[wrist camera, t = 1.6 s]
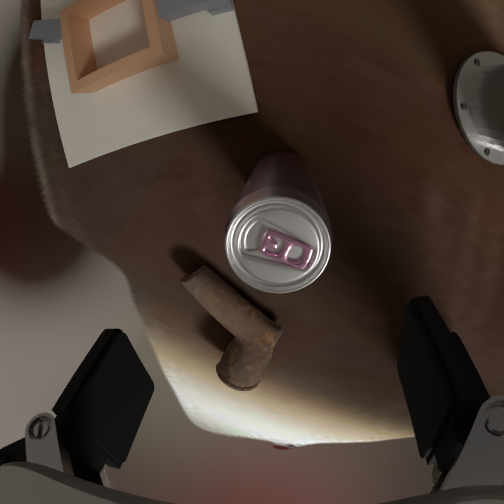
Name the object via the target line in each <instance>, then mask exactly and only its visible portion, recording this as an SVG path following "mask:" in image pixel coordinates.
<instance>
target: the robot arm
mask: <svg viewBox="0 0 504 504" xmlns="http://www.w3.org/2000/svg"><path fill="white" fill-rule="evenodd" d="M460 104H461V106H460ZM453 105H454V111H455V116H456V120H457V123H458V125H459V128H460V131H461V133H462V135H463V136H464V138H465V140H466V142H467V143H468V144H469V146H470V147H471V148H472V149H473V150H474V151H475V152H476V153H477V154H478V155H479V156H481V157H482V158H484V159H485V160H487V161H490V162H492V163H495V164H499V165H504V56H503V55H501V54H499V53H496V52H491V51H483V52H477V53H475V54H472V55H470V56H469V57H468V58H466V59H465V60H464V61H463V63H462V64H461V65H460V67H459V69H458V71H457V74H456V76H455V81H454V85H453ZM397 369H398V375H399V378H400V381H401V385H402V388H403V392H404V395H405V399H406V402H407V406H408V410H409V413H410V417H411V421H412V425H413V429H414V433H415V437H416V441H417V445H418V450H419V454H420V457H421V458H426V461H427V465H430V464H433V463H437V466H438V470H439V471H440V472H441V473H440V475H439V476H438V478H437V480H436V482H435V483H434V485H433V487H432V488H431V490H430V492H429V493H428V494H424V495H419V496H414V497H409V498H404V499H400V500H395V501H390V502H385V503H379V504H504V396H495V397H492V398H490V396H489V394H488V392H487V390H486V388H485V386H484V384H483V382H482V379H481V377H480V375H479V373H478V371H477V369H476V367H475V365H474V364H473V362H472V360H471V358H470V356H469V354H468V352H467V350H466V348H465V347H464V345H463V343H462V341H461V339H460V337H459V336H458V335H457V333H455V332H451V333H450V332H449V330H448V328H447V326H446V324H445V323H444V321H443V319H442V317H441V316H440V314H439V312H438V310H437V309H436V307H435V305H434V304H433V302H432V300H431V299H430V297H429V296H422V297H416V298H411V299H410V302H409V304H406V305H405V306H404V316H403V325H402V334H401V342H400V350H399V357H398V364H397ZM153 392H154V383H153V381H152V380H151V378H150V376H149V374H148V372H147V371H146V369H145V367H144V366H143V364H142V362H141V360H140V359H139V357H138V355H137V353H136V352H135V350H134V348H133V346H132V344H131V342H130V341H129V339H128V337H127V335H126V334H125V333H123V332H122V330H120V329H105V330H104V331H103V332H102V334H101V335H100V336H99V338H98V339H97V341H96V342H95V344H94V345H93V347H92V348H91V349H90V351H89V352H88V354H87V355H86V357H85V359H84V360H83V362H82V363H81V365H80V366H79V367H78V369H77V371H76V372H75V374H74V375H73V377H72V378H71V380H70V382H69V383H68V385H67V386H66V388H65V389H64V391H63V393H62V394H61V396H60V397H59V399H58V401H57V402H56V404H55V406H54V407H53V409H52V411H53V412H54V413H55V414H56V415H57V416H56V418H54V417H53V416H52V415H51V414H49V413H41V414H38V415H36V416H34V417H33V418H32V419H31V420H30V421H29V423H28V424H27V427H26V430H25V437H24V438H22V439H21V440H18V441H16V442H14V443H12V444H10V445H8V446H5V447H3V448H2V449H0V504H174V503H169V502H163V501H158V500H154V499H149V498H144V497H141V496H137V495H132V494H129V493H125V492H121V491H118V490H114V489H111V487H110V485H109V482H108V479H107V476H106V474H105V471H104V468H103V467H104V464H107V465H108V466H110V467H114V468H118V469H120V467H121V464H122V463H123V462H125V460H126V458H127V456H128V453H129V451H130V448H131V446H132V443H133V441H134V438H135V436H136V433H137V431H138V428H139V426H140V423H141V421H142V418H143V416H144V414H145V411H146V409H147V406H148V404H149V401H150V399H151V397H152V394H153Z"/></svg>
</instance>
